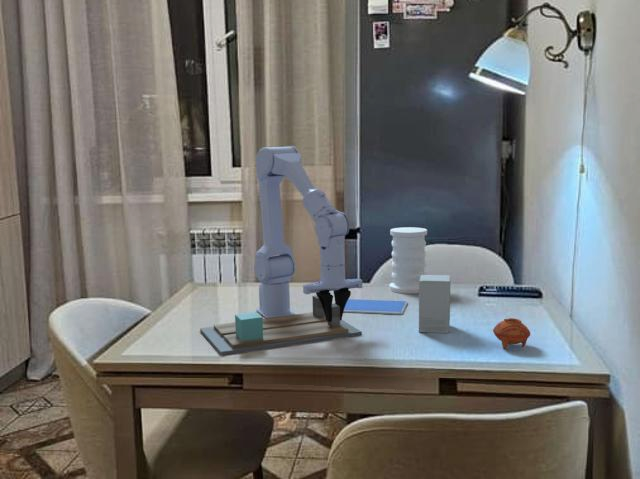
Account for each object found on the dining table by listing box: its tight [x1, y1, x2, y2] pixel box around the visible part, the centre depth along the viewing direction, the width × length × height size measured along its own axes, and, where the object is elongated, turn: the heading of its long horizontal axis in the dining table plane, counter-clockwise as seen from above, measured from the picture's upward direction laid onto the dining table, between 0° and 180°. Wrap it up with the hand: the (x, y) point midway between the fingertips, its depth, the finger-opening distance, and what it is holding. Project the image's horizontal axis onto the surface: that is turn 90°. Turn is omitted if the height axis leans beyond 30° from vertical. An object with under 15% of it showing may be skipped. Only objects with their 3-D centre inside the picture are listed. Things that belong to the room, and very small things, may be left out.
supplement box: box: [418, 274, 451, 334], centre depth 168 cm, size 7×7×13 cm
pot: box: [492, 317, 531, 350], centre depth 154 cm, size 8×8×7 cm
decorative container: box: [388, 226, 428, 295], centre depth 209 cm, size 12×12×18 cm
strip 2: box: [224, 302, 348, 348], centre depth 162 cm, size 8×28×6 cm, turn 112°
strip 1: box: [213, 294, 327, 337], centre depth 171 cm, size 8×28×6 cm, turn 112°
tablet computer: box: [343, 298, 409, 316], centre depth 190 cm, size 19×13×1 cm, turn 76°
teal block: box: [234, 311, 264, 342], centre depth 159 cm, size 5×5×5 cm
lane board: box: [199, 319, 363, 356], centre depth 168 cm, size 20×34×1 cm, turn 112°
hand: (333, 320), depth 167 cm, fingers closed on strip 2, 2 cm apart
